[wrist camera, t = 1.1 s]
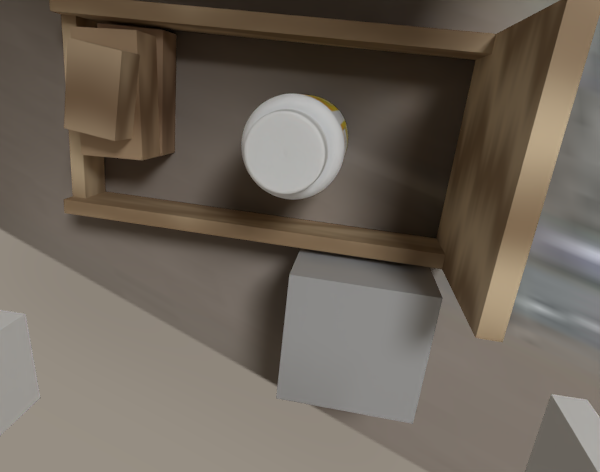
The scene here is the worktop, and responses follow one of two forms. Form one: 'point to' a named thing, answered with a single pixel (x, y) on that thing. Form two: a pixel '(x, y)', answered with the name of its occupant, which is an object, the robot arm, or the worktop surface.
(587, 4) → the light wood open box
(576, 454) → the robot arm
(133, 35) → the offcut slab top
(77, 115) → the offcut block
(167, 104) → the offcut slab low
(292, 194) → the supplement bottle
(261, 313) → the worktop surface
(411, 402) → the stone plinth
